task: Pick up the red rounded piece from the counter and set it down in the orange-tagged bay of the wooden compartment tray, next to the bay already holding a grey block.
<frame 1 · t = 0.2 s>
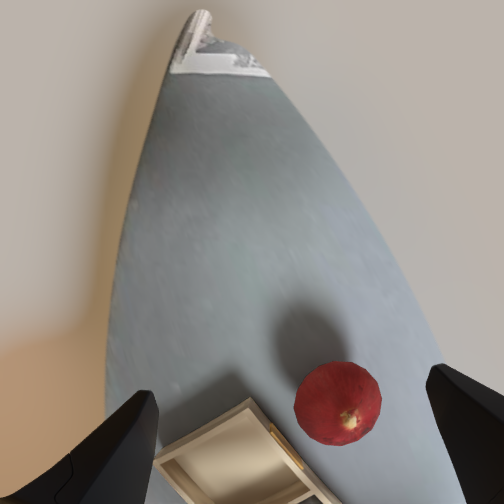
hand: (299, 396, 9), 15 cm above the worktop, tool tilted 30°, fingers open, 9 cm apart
red rounded piece: (327, 390, 23), on the worktop
wooden compartment tray: (268, 497, 21), on the worktop
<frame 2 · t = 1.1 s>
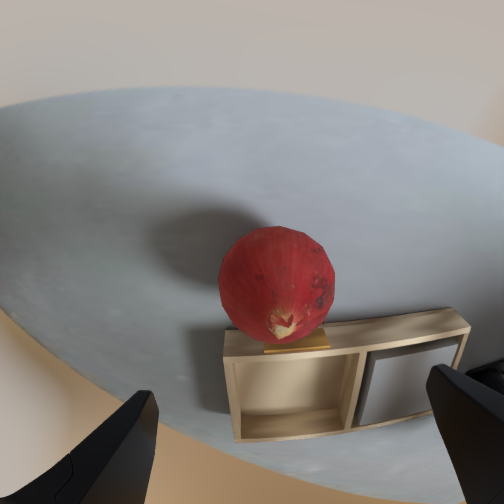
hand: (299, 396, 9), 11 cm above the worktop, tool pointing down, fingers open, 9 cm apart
red rounded piece: (271, 257, 20), on the worktop
wooden compartment tray: (345, 369, 23), on the worktop
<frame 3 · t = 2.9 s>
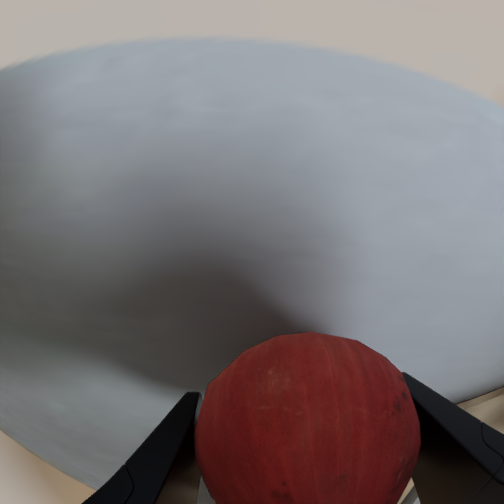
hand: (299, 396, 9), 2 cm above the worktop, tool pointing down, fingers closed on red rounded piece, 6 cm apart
red rounded piece: (291, 352, 11), on the worktop, touching gripper
wooden compartment tray: (381, 466, 14), on the worktop
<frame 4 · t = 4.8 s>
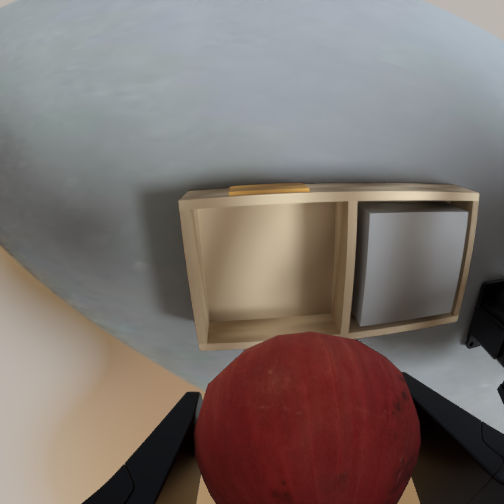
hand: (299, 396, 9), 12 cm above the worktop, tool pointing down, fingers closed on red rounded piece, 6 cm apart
red rounded piece: (291, 352, 11), point 9 cm above the worktop, touching gripper
wooden compartment tray: (335, 254, 20), on the worktop
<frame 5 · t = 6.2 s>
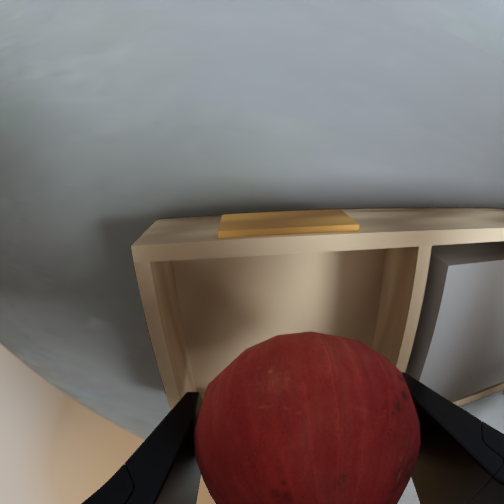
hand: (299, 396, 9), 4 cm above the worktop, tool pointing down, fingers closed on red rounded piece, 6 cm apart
red rounded piece: (291, 352, 11), point 2 cm above the worktop, touching gripper
wooden compartment tray: (378, 310, 13), on the worktop
when the fingers open (4 cm above the worktop, at t = 6.9 s): red rounded piece drops 2 cm, resting on wooden compartment tray.
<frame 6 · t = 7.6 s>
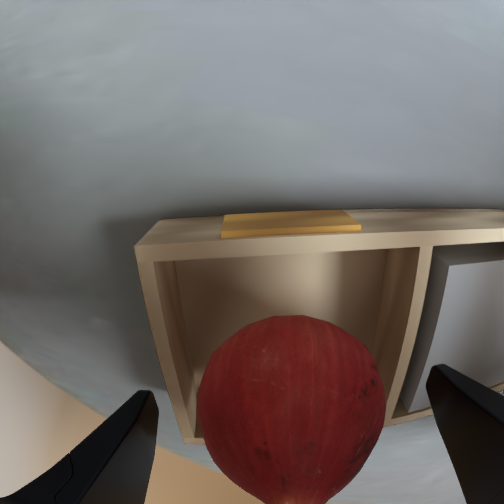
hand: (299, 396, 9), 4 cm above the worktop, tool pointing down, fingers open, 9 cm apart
red rounded piece: (286, 325, 13), point 1 cm above the worktop, touching wooden compartment tray
wooden compartment tray: (379, 310, 13), on the worktop
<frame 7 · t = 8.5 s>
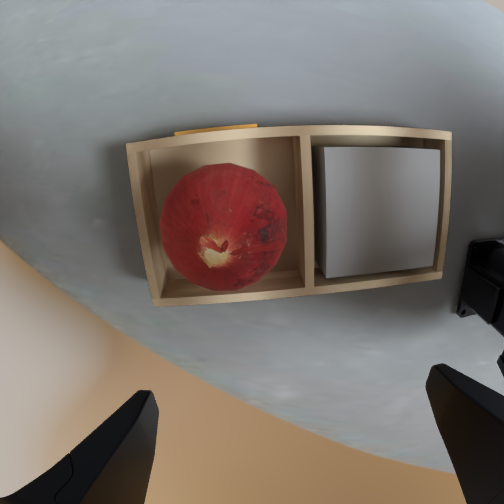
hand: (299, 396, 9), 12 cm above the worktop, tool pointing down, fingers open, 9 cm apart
red rounded piece: (227, 210, 18), resting on wooden compartment tray
wooden compartment tray: (298, 203, 19), on the worktop
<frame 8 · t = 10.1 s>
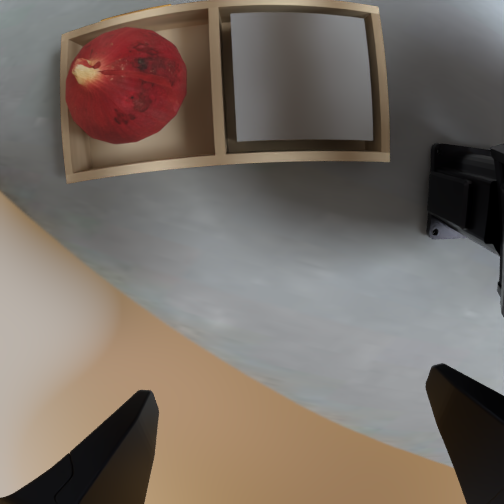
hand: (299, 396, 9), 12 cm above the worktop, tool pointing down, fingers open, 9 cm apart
red rounded piece: (149, 94, 16), resting on wooden compartment tray
wooden compartment tray: (220, 86, 17), on the worktop
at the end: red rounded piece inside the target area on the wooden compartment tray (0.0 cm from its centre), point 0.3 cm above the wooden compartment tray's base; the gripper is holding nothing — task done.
